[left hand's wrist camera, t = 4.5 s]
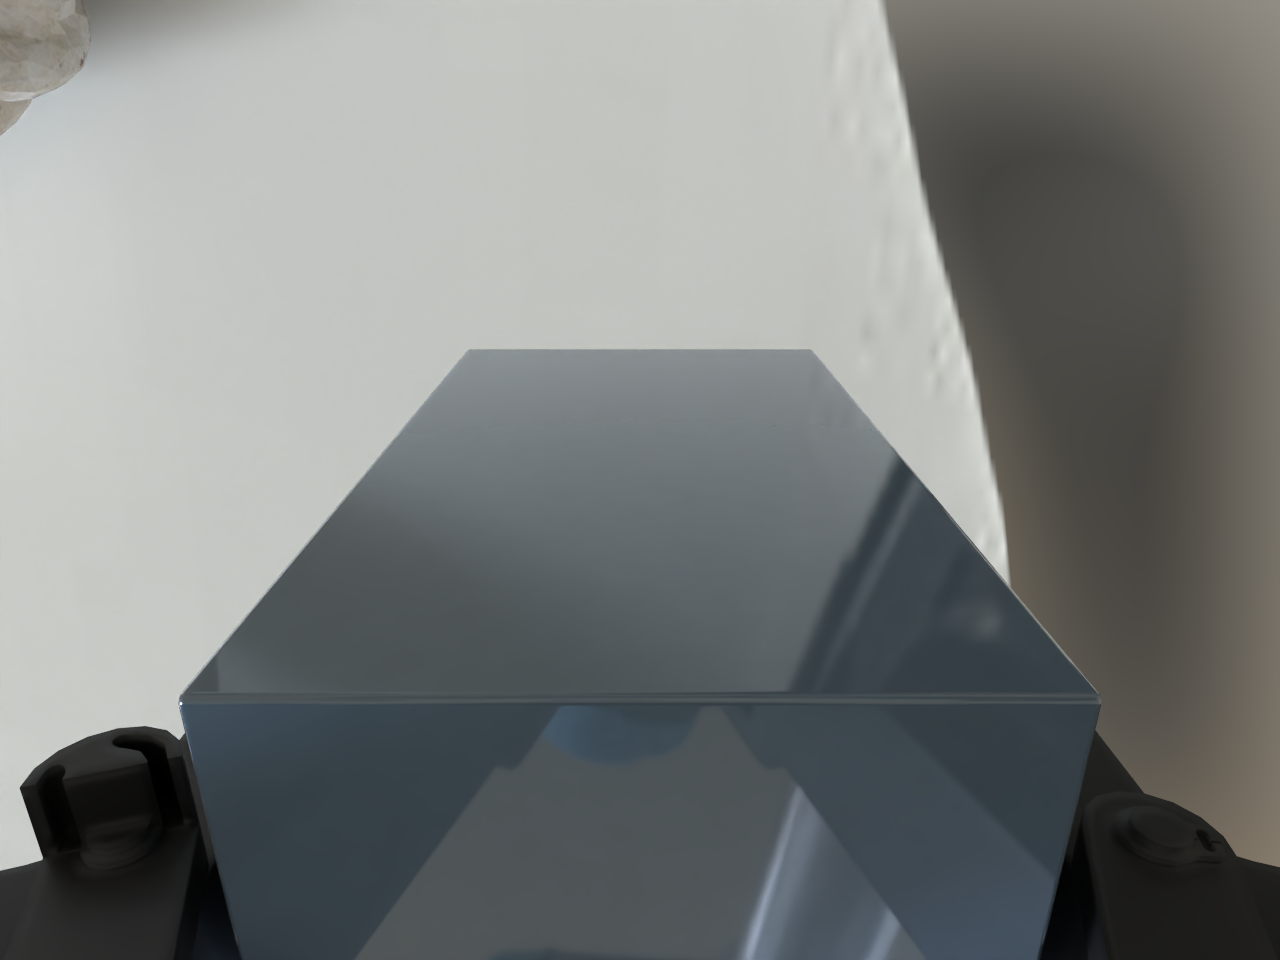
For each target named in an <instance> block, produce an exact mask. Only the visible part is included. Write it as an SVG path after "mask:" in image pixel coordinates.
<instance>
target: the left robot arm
mask: <svg viewBox="0 0 1280 960" xmlns="http://www.w3.org/2000/svg"><path fill="white" fill-rule="evenodd" d="M20 790H21V793H22V796H23V799H24V802H25V805H26V808H27V811H28V814H29V817H30V820H31V823H32V826H33V829H34V832H35V835H36V838H37V841H38V844H39V847H40V850H41V853H42V856H43V860H41V861H38V862H34V863H31V864H28V865H24V866H20V867H15V868H11V869H7V870H2V871H0V960H240V959H239V955H238V951H237V947H236V943H235V938H234V934H233V930H232V926H231V922H230V917H229V913H228V909H227V905H226V901H225V897H224V892H223V888H222V884H221V880H220V876H219V871H218V867H217V863H216V859H215V855H214V850H213V846H212V842H211V838H210V834H209V830H208V825H207V821H206V817H205V813H204V809H203V804H202V800H201V796H200V792H199V788H198V783H197V779H196V775H195V771H194V767H193V763H192V758H191V754H190V750H189V746H188V742H187V737H186V733H185V734H184V735H183V736H182V738H181V739H180V740H178V739H177V738H176V737H175V736H173V735H172V734H171V733H170V732H168V731H167V730H162V729H157V728H152V727H147V726H142V727H130V728H118V729H114V730H111V731H107V732H103V733H100V734H96V735H93V736H89V737H86V738H84V739H82V740H80V741H78V742H76V743H74V744H72V745H70V746H67V747H65V748H63V749H61V750H59V751H58V752H56V753H55V754H53V755H52V756H51V757H49V758H48V759H47V760H45V761H44V762H43V763H41V764H40V765H39V766H37V767H36V768H34V770H33V771H32V772H31V774H30V775H29V776H28V778H27V779H26V780H25V781H24V783H23V784H22V785H21V787H20ZM1040 960H1280V867H1276V866H1272V865H1267V864H1263V863H1258V862H1254V861H1251V860H1247V859H1244V858H1241V857H1237V856H1236V855H1235V853H1234V851H1233V850H1232V848H1231V847H1230V845H1229V844H1228V842H1227V841H1226V839H1225V838H1224V837H1223V836H1222V835H1221V834H1220V833H1219V832H1218V831H1216V830H1215V829H1214V828H1213V827H1212V826H1210V825H1209V824H1208V823H1207V822H1206V821H1205V820H1203V819H1202V818H1201V817H1199V816H1197V815H1195V814H1194V813H1192V812H1190V811H1188V810H1186V809H1184V808H1182V807H1180V806H1179V805H1177V804H1175V803H1173V802H1170V801H1166V800H1163V799H1160V798H1157V797H1154V796H1150V795H1147V794H1144V793H1143V791H1142V790H1141V789H1140V787H1139V786H1138V785H1137V784H1136V782H1135V781H1134V780H1133V778H1132V777H1131V776H1130V774H1129V773H1128V772H1127V771H1126V769H1125V768H1124V767H1123V765H1122V764H1121V763H1120V762H1119V760H1118V759H1117V758H1116V756H1115V755H1114V754H1113V753H1112V751H1111V750H1110V749H1109V747H1108V746H1107V745H1106V744H1105V742H1104V741H1103V740H1102V738H1101V737H1100V736H1099V735H1098V733H1097V732H1096V731H1095V732H1094V736H1093V741H1092V745H1091V749H1090V753H1089V757H1088V762H1087V766H1086V770H1085V774H1084V778H1083V782H1082V787H1081V791H1080V795H1079V799H1078V803H1077V808H1076V812H1075V816H1074V820H1073V824H1072V829H1071V833H1070V837H1069V841H1068V845H1067V850H1066V854H1065V858H1064V862H1063V866H1062V871H1061V875H1060V879H1059V883H1058V887H1057V891H1056V896H1055V900H1054V904H1053V908H1052V912H1051V917H1050V921H1049V925H1048V929H1047V933H1046V938H1045V942H1044V946H1043V950H1042V954H1041V959H1040Z"/></svg>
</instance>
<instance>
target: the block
mask: <svg viewBox="0 0 1280 960" xmlns="http://www.w3.org/2000/svg"><path fill="white" fill-rule="evenodd" d="M1100 707H1101V699H1100V695H1099V693H1098V692H1097V691H1096V689H1095V688H1094V687H1093V686H1092V685H1091V683H1090V682H1089V681H1088V680H1087V679H1086V677H1085V676H1084V675H1083V674H1082V673H1081V671H1080V670H1079V669H1078V668H1077V667H1076V665H1075V664H1074V663H1073V662H1072V661H1071V659H1070V658H1069V657H1068V656H1067V655H1066V653H1065V652H1064V651H1063V650H1062V649H1061V648H1060V646H1059V645H1058V644H1057V643H1056V642H1055V640H1054V639H1053V638H1052V637H1051V636H1050V634H1049V633H1048V632H1047V631H1046V630H1045V628H1044V627H1043V626H1042V625H1041V624H1040V622H1039V621H1038V620H1037V619H1036V618H1035V616H1034V615H1033V614H1032V613H1031V612H1030V611H1029V609H1028V608H1027V607H1026V606H1025V604H1024V603H1023V602H1022V601H1021V600H1020V598H1019V597H1018V596H1017V595H1016V594H1015V592H1014V591H1013V590H1012V589H1011V588H1010V586H1009V585H1008V584H1007V583H1006V582H1005V580H1004V579H1003V578H1002V577H1001V576H1000V574H999V573H998V572H997V571H996V570H995V568H994V567H993V566H992V565H991V564H990V562H989V561H988V560H987V559H986V558H985V557H984V555H983V554H982V553H981V552H980V551H979V549H978V548H977V547H976V546H975V545H974V543H973V542H972V541H971V540H970V539H969V537H968V536H967V535H966V534H965V533H964V531H963V530H962V529H961V528H960V527H959V525H958V524H957V523H956V522H955V521H954V519H953V518H952V517H951V516H950V515H949V513H948V512H947V511H946V510H945V509H944V507H943V506H942V505H941V504H940V503H939V501H938V500H937V499H936V498H935V497H934V495H933V494H932V493H931V492H930V491H929V489H928V488H927V487H926V486H925V485H924V483H923V482H922V481H921V480H920V479H919V477H918V476H917V475H916V474H915V473H914V471H913V470H912V469H911V468H910V467H909V466H908V464H907V463H906V462H905V461H904V460H903V458H902V457H901V456H900V455H899V454H898V452H897V451H896V450H895V449H894V448H893V446H892V445H891V444H890V443H889V442H888V440H887V439H886V438H885V437H884V436H883V434H882V433H881V432H880V431H879V430H878V428H877V427H876V426H875V425H874V424H873V422H872V421H871V420H870V419H869V418H868V416H867V415H866V414H865V413H864V412H863V410H862V409H861V408H860V407H859V406H858V404H857V403H856V402H855V401H854V400H853V398H852V397H851V396H850V395H849V394H848V392H847V391H846V390H845V389H844V388H843V386H842V385H841V384H840V383H839V382H838V380H837V379H836V378H835V377H834V376H833V375H832V373H831V372H830V371H829V370H828V369H827V367H826V366H825V365H824V364H823V363H822V361H821V360H820V359H819V358H818V357H817V355H816V354H815V353H814V352H813V351H812V350H468V351H467V352H466V353H465V354H464V355H463V356H462V358H461V359H460V360H459V361H458V362H457V364H456V365H455V366H454V367H453V368H452V370H451V371H450V372H449V373H448V374H447V376H446V377H445V378H444V379H443V380H442V382H441V383H440V384H439V385H438V386H437V387H436V389H435V390H434V391H433V392H432V393H431V395H430V396H429V397H428V398H427V399H426V401H425V402H424V403H423V404H422V405H421V407H420V408H419V409H418V410H417V411H416V413H415V414H414V415H413V416H412V417H411V419H410V420H409V421H408V422H407V423H406V425H405V426H404V427H403V428H402V429H401V431H400V432H399V433H398V434H397V435H396V437H395V438H394V439H393V440H392V441H391V443H390V444H389V445H388V446H387V447H386V449H385V450H384V451H383V452H382V453H381V455H380V456H379V457H378V458H377V459H376V461H375V462H374V463H373V464H372V465H371V467H370V468H369V469H368V470H367V471H366V473H365V474H364V475H363V476H362V477H361V478H360V480H359V481H358V482H357V483H356V484H355V486H354V487H353V488H352V489H351V490H350V492H349V493H348V494H347V495H346V496H345V498H344V499H343V500H342V501H341V502H340V504H339V505H338V506H337V507H336V508H335V510H334V511H333V512H332V513H331V514H330V516H329V517H328V518H327V519H326V520H325V522H324V523H323V524H322V525H321V526H320V528H319V529H318V530H317V531H316V532H315V534H314V535H313V536H312V537H311V538H310V540H309V541H308V542H307V543H306V544H305V546H304V547H303V548H302V549H301V550H300V552H299V553H298V554H297V555H296V556H295V558H294V559H293V560H292V561H291V562H290V563H289V565H288V566H287V567H286V568H285V569H284V571H283V572H282V573H281V574H280V575H279V577H278V578H277V579H276V580H275V581H274V583H273V584H272V585H271V586H270V587H269V589H268V590H267V591H266V592H265V593H264V595H263V596H262V597H261V598H260V599H259V601H258V602H257V603H256V604H255V605H254V607H253V608H252V609H251V610H250V611H249V613H248V614H247V615H246V616H245V617H244V619H243V620H242V621H241V622H240V623H239V625H238V626H237V627H236V628H235V629H234V631H233V632H232V633H231V634H230V635H229V637H228V638H227V639H226V640H225V641H224V643H223V644H222V645H221V646H220V647H219V648H218V650H217V651H216V652H215V653H214V654H213V656H212V657H211V658H210V659H209V660H208V662H207V663H206V664H205V665H204V666H203V668H202V669H201V670H200V671H199V672H198V674H197V675H196V676H195V677H194V678H193V680H192V681H191V682H190V683H189V684H188V686H187V687H186V688H185V689H184V690H183V692H182V693H181V694H180V698H179V708H180V712H181V716H182V721H183V725H184V729H185V733H186V737H187V742H188V746H189V750H190V754H191V758H192V763H193V767H194V771H195V775H196V779H197V783H198V788H199V792H200V796H201V800H202V804H203V809H204V813H205V817H206V821H207V825H208V830H209V834H210V838H211V842H212V846H213V850H214V855H215V859H216V863H217V867H218V871H219V876H220V880H221V884H222V888H223V892H224V897H225V901H226V905H227V909H228V913H229V917H230V922H231V926H232V930H233V934H234V938H235V943H236V947H237V951H238V955H239V959H240V960H1040V959H1041V954H1042V950H1043V946H1044V942H1045V938H1046V933H1047V929H1048V925H1049V921H1050V917H1051V912H1052V908H1053V904H1054V900H1055V896H1056V891H1057V887H1058V883H1059V879H1060V875H1061V871H1062V866H1063V862H1064V858H1065V854H1066V850H1067V845H1068V841H1069V837H1070V833H1071V829H1072V824H1073V820H1074V816H1075V812H1076V808H1077V803H1078V799H1079V795H1080V791H1081V787H1082V782H1083V778H1084V774H1085V770H1086V766H1087V762H1088V757H1089V753H1090V749H1091V745H1092V741H1093V736H1094V732H1095V728H1096V724H1097V720H1098V715H1099V711H1100Z"/></svg>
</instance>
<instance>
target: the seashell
mask: <svg viewBox="0 0 1280 960" xmlns="http://www.w3.org/2000/svg"><path fill="white" fill-rule="evenodd" d="M89 45H90V32H89V24H88V18H87V15H86V12H85V10H84V7H83V4H82V1H81V0H0V135H1V134H3V133H4V132H5V131H6V130H8V129H9V128H10V127H11V126H12V125H14V124H15V123H16V122H17V120H18V119H19V118H20V116H21V115H22V114H23V112H24V111H25V110H26V108H27V107H28V106H29V104H30V103H31V100H32V98H35V97H37V96H40V95H42V94H44V93H47V92H49V91H52V90H54V89H56V88H58V87H60V86H62V85H63V84H65V83H66V82H67V81H68V80H69V79H71V78H72V77H73V76H74V75H75V74H76V73H77V72H78V71H79V70H80V69H81V68H82V67H83V65H84V62H85V60H86V57H87V53H88V49H89Z"/></svg>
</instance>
